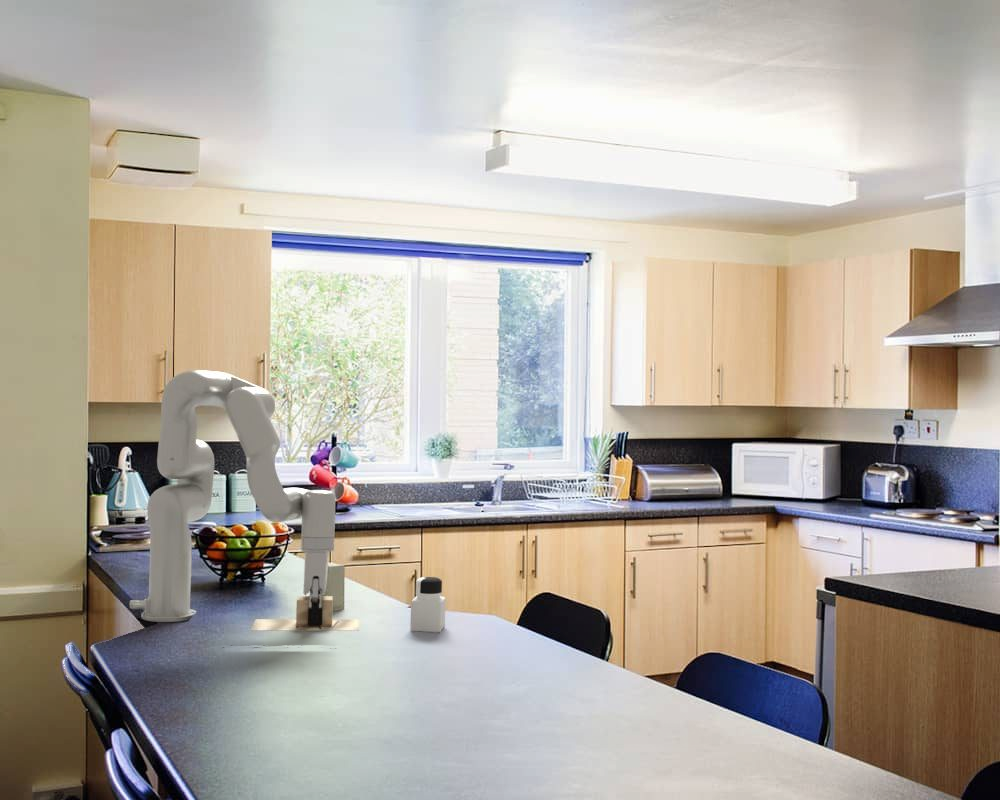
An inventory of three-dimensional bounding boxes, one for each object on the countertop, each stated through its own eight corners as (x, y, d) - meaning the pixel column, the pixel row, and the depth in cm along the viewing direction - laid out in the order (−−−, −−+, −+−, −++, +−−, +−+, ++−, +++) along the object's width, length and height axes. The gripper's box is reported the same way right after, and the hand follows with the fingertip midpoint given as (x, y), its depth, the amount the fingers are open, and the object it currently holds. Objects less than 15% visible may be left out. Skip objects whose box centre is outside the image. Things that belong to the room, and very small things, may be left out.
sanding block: (296, 626, 239) (296, 600, 239) (297, 622, 244) (297, 596, 244) (331, 626, 240) (332, 600, 240) (332, 621, 245) (332, 596, 245)
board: (250, 635, 234) (250, 630, 234) (255, 624, 246) (255, 619, 246) (359, 635, 238) (359, 630, 238) (358, 624, 250) (359, 619, 250)
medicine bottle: (445, 626, 250) (446, 576, 250) (440, 632, 243) (441, 580, 243) (415, 625, 251) (416, 574, 251) (409, 631, 244) (411, 579, 244)
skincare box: (344, 614, 261) (346, 565, 262) (329, 615, 259) (330, 566, 259) (331, 609, 266) (333, 561, 266) (316, 611, 263) (317, 563, 264)
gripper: (303, 539, 250) (300, 615, 250) (299, 548, 233) (296, 630, 233) (334, 539, 251) (332, 615, 251) (333, 549, 234) (330, 630, 234)
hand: (315, 622), depth 242 cm, fingers closed on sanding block, 5 cm apart
